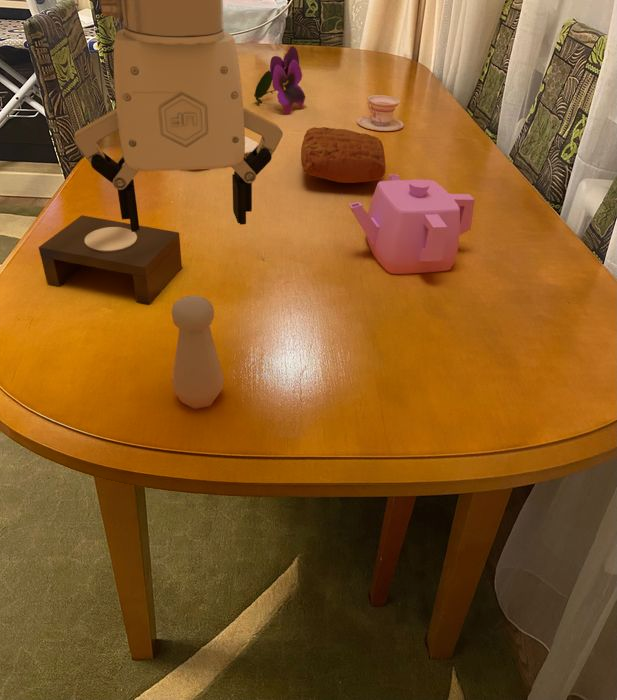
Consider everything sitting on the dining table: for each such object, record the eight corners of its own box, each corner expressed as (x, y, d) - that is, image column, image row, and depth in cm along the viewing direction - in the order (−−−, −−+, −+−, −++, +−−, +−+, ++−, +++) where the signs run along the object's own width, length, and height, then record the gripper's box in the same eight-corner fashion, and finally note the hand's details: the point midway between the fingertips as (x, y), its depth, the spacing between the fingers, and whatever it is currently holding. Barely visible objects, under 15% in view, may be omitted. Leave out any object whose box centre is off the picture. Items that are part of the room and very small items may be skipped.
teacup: (412, 125, 156) (416, 100, 153) (385, 135, 149) (389, 109, 145) (375, 114, 162) (378, 90, 159) (347, 123, 155) (349, 98, 151)
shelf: (47, 284, 87) (37, 245, 83) (88, 250, 96) (81, 213, 92) (149, 305, 84) (144, 266, 81) (182, 267, 93) (179, 231, 89)
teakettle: (434, 290, 92) (451, 215, 84) (337, 257, 98) (345, 184, 91) (472, 248, 104) (490, 179, 96) (384, 221, 110) (393, 154, 103)
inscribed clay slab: (382, 200, 118) (388, 160, 113) (295, 193, 118) (297, 152, 113) (381, 160, 135) (386, 123, 130) (305, 153, 136) (307, 117, 131)
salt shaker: (232, 388, 72) (230, 295, 64) (211, 419, 67) (205, 324, 59) (188, 375, 73) (180, 283, 65) (164, 405, 69) (152, 310, 61)
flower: (250, 129, 162) (288, 114, 154) (227, 72, 157) (266, 53, 148) (279, 117, 172) (317, 102, 164) (259, 62, 167) (297, 44, 159)
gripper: (48, 21, 41) (90, 248, 51) (295, 24, 45) (288, 233, 55) (54, 3, 47) (91, 210, 57) (274, 7, 51) (270, 199, 61)
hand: (188, 221), depth 56 cm, fingers open, 9 cm apart
